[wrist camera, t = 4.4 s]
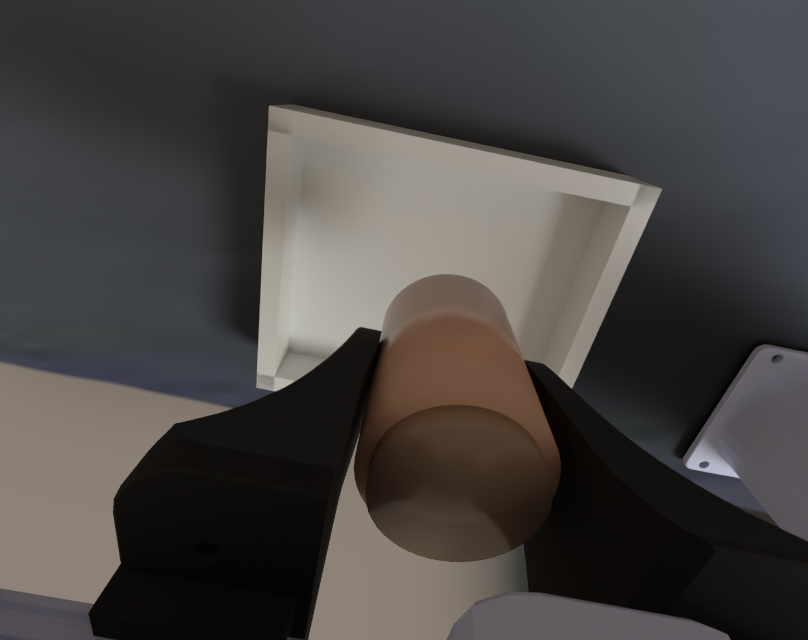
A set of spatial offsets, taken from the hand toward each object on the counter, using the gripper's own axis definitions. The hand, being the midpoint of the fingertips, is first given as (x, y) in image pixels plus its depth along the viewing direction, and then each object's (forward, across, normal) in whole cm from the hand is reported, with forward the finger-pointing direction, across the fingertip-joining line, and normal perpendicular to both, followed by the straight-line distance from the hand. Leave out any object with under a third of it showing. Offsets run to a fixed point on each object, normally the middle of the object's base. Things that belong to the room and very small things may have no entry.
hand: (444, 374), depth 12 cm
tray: (+9, 0, 0) cm, 9 cm away
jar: (+2, 0, 0) cm, 2 cm away
